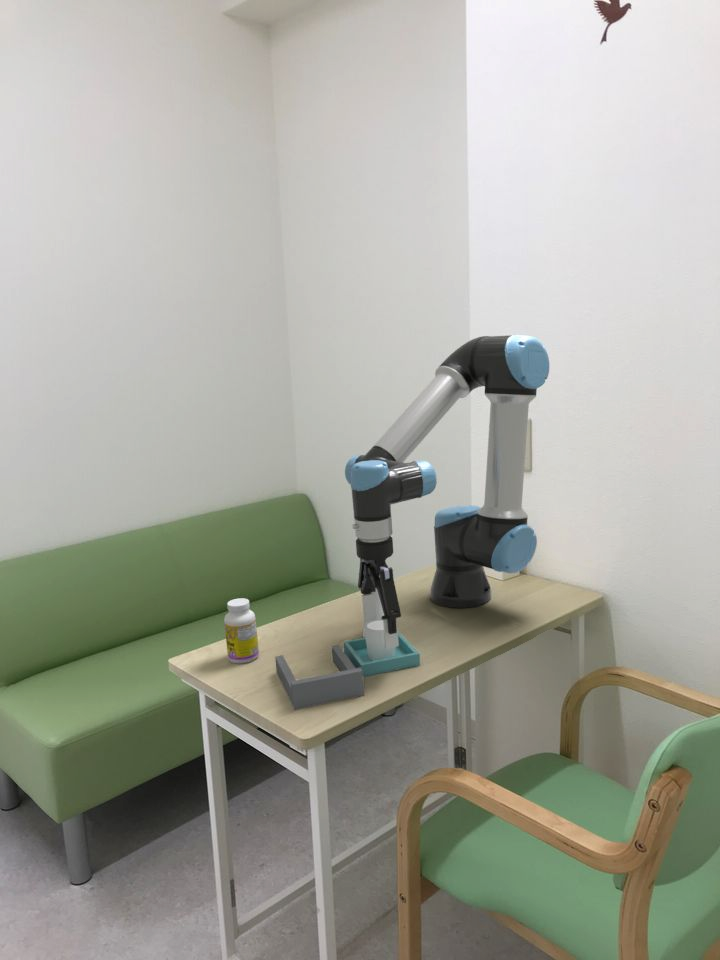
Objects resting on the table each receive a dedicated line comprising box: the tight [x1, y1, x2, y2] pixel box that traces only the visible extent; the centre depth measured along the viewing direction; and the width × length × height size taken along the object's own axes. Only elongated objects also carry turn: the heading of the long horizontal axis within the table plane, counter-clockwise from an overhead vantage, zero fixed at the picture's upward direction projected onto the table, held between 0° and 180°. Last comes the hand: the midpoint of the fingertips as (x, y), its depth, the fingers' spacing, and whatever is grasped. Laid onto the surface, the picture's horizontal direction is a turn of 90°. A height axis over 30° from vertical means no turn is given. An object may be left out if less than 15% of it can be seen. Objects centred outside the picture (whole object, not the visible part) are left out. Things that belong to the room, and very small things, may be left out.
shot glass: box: [363, 619, 395, 661], centre depth 161 cm, size 7×7×7 cm
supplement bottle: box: [223, 597, 260, 665], centre depth 164 cm, size 7×7×13 cm
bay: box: [274, 644, 365, 710], centre depth 151 cm, size 17×14×5 cm
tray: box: [342, 631, 421, 677], centre depth 161 cm, size 13×13×2 cm
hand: (380, 634), depth 160 cm, fingers open, 13 cm apart
